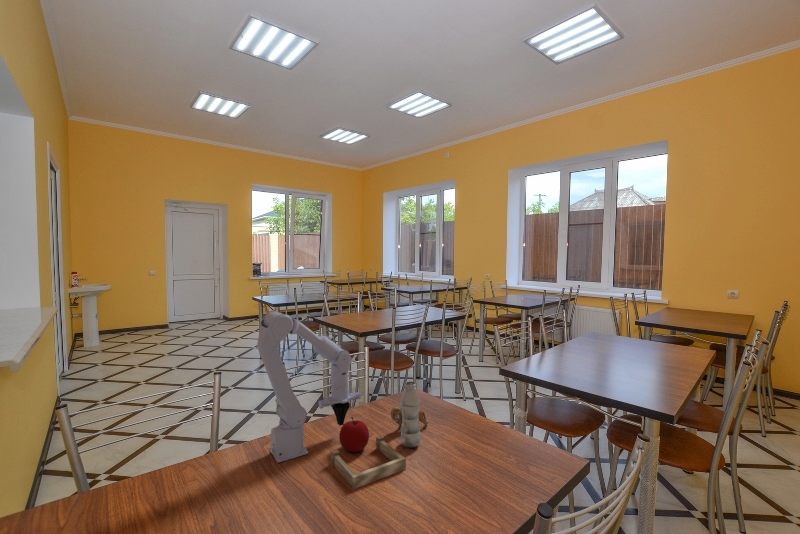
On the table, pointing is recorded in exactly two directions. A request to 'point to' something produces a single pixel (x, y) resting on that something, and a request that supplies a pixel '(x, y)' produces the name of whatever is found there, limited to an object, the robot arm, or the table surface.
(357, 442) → the apple
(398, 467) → the corral
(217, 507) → the table surface
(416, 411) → the plastic bottle
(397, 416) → the lion figurine
